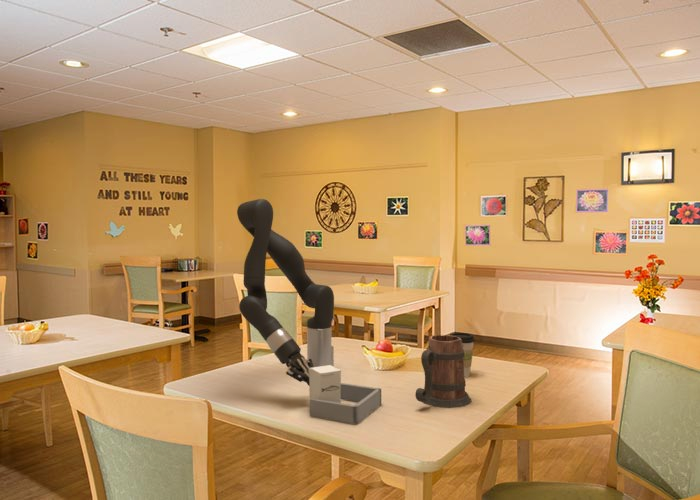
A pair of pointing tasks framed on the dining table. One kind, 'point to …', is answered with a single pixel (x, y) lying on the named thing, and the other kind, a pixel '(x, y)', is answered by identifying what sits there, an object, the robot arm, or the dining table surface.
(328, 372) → the supplement box
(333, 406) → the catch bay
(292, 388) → the dining table surface
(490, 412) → the dining table surface
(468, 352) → the coffee cup
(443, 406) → the tankard
